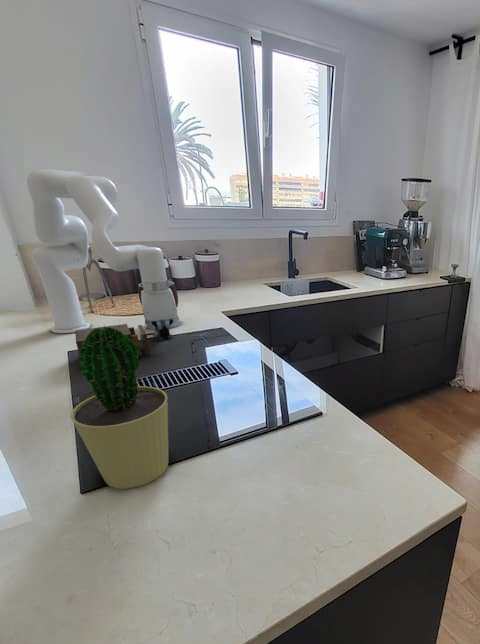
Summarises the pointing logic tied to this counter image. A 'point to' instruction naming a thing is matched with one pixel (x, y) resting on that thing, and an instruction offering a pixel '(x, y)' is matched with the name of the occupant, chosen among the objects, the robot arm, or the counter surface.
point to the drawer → (143, 339)
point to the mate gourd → (174, 299)
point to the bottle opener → (158, 331)
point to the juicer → (91, 261)
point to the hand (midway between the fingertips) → (165, 338)
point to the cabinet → (84, 332)
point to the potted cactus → (121, 413)
